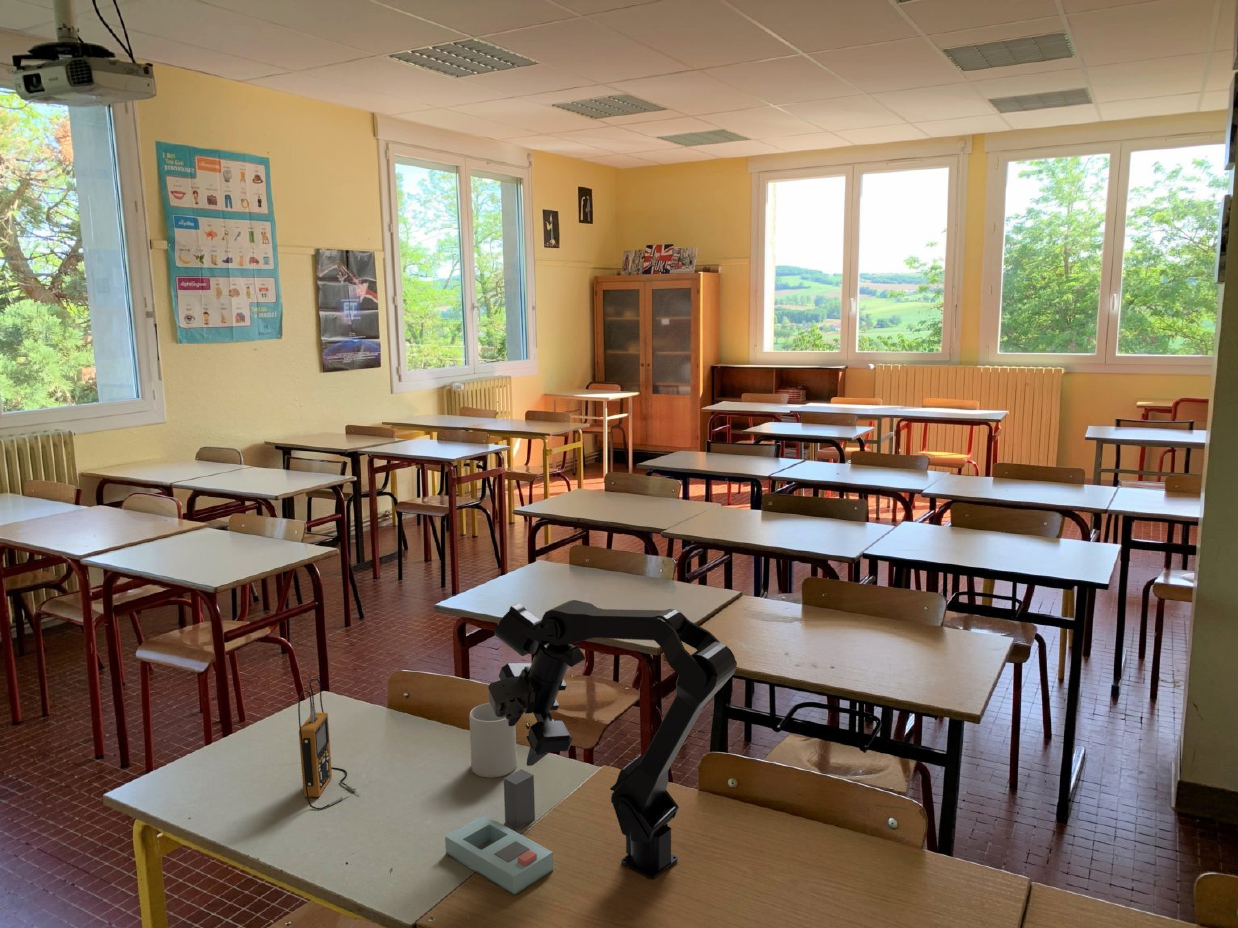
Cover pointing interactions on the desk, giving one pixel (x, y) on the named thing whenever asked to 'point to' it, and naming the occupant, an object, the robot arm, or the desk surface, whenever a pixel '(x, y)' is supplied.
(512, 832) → the power strip
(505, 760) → the mug
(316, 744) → the multimeter
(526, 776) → the plug
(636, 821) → the robot arm
